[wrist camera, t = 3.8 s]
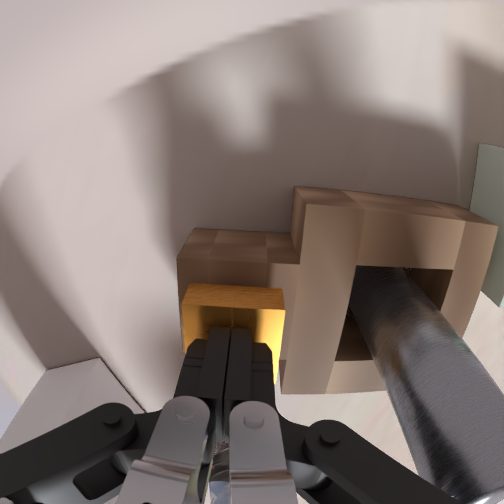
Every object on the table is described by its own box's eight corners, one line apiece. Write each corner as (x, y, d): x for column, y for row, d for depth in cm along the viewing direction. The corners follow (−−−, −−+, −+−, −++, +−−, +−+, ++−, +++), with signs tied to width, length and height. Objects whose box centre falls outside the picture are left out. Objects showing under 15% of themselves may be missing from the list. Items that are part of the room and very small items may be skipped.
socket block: (458, 205, 16) (498, 226, 12) (418, 345, 19) (440, 383, 16) (194, 180, 16) (175, 197, 12) (197, 343, 19) (186, 388, 16)
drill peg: (404, 253, 17) (562, 441, 4) (390, 307, 18) (498, 505, 5) (347, 249, 17) (482, 486, 4) (336, 306, 18) (414, 539, 5)
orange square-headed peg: (276, 250, 16) (285, 309, 11) (271, 311, 17) (275, 383, 12) (205, 246, 16) (181, 303, 11) (205, 307, 17) (187, 377, 12)
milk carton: (152, 418, 22) (98, 625, 5) (94, 424, 24) (31, 590, 6) (101, 355, 20) (-7, 586, 2) (45, 369, 21) (-53, 542, 4)
